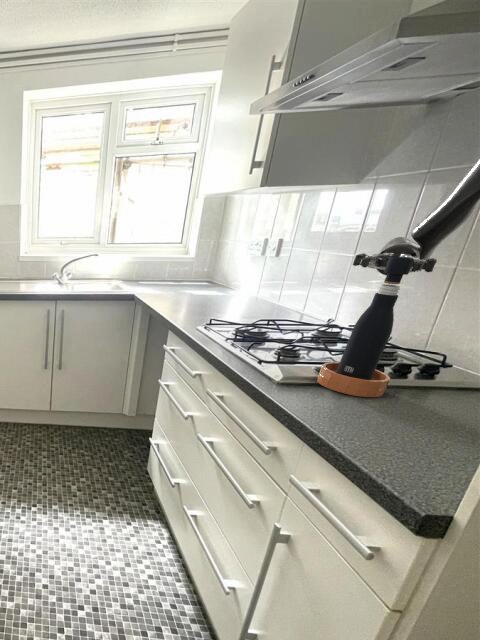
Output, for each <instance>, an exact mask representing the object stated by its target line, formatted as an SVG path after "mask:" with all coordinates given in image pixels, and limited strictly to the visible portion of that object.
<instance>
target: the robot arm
mask: <svg viewBox="0 0 480 640" xmlns="http://www.w3.org/2000/svg"><path fill="white" fill-rule="evenodd" d="M479 203H480V157H479V158H478V159H477V161H476V162H475V163H474V165H472V167H471V168H470V169H469V170H468V171H467V173H466V174H465V175H464V176H463V178H461V180H460V181H459V182H458V183H457V184H456V186H455V187H454V188H453V189H452V190H451V191H450V193H449V194H448V195H447V196H446V197H445V198H444V199H443V200H442V201H441V202H440V203H439V204H438V205H437V206H436V207H435V208H434V209H433V210H432V211H430V212H429V213H428V214H427V215H426V216H425V217H424V218H423V219H421V221H420V222H418V223H417V224H416V225H415V226H414V227H413V228H412V230H411V232H410V236H411V238H412V239H410V238H407V237H404V236H398V237H394V238H392V239H390V240H389V241H388V242H386V243H385V244H384V245H382V247H381V248H380V250H379V252H378V253H373V254H372V255H369V254H367V253H359V254H355V256H354V258H353V262H352V264H351V265H352V266H353V267H357V266H361V267H362V268H364V269H365V268H366V269H367V268H368V269H374V270H376V271H377V272H378V273H380V274H381V275H383V276H387V273H384V270H385V268H386V265H387V263H388V260H389V258H390V257H406V258H414V262H413V264H412V266H411V269H410V271H409V273H416V272H422V270H424V272H426V273H433V271H434V269H435V266H436V264H437V262H438V260H437V258H435V257H434V258H431V257H432V256H433V254H434V253H435V251H436V249H437V248H438V247H440V245H441V244H442V243H443V242H444V241H445V240H446V239H447V238H449V237H450V236H451V235H452V234H454V232H455V231H457V230H458V229H460V227H462V226H463V225H464V224H465V223H466V222H468V220H469V219H470V218H471V217H472V215H473V214H474V212H475V210H476V209H477V207H478V205H479ZM409 273H408V274H409Z"/></svg>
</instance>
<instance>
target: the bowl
mask: <svg viewBox="0 0 480 640" xmlns="http://www.w3.org/2000/svg"><path fill="white" fill-rule="evenodd" d="M339 363H340V361H330V362H324V363H322V364H321V366H320V367H321V368H320V371H319V373H318V376H317V378H316V381H317V383H318V384H319V385H320V386H322V387H324V388H327V389H329V390H331V391H333V392H337V393H341V394H345V395H349V396H353V397H362V398H380V397H382V396H383V395H384V394H385V392H386V390H387V388H388V385H389V382H390V381H391V377H390V375H388V374H387V373H385V372H383V371H380V370H378V369H375V371H374V373H373V376H372V378H371V380H364V379H358V378H352V377H348V376H344V375H341V374H338V373H336V371H337V368H338V366H339Z"/></svg>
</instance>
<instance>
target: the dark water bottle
mask: <svg viewBox="0 0 480 640" xmlns="http://www.w3.org/2000/svg"><path fill="white" fill-rule="evenodd" d="M413 262H414V258H406V257H390V258H389V260H388V263H387V265H386V268H385V270H384V273H387V275H385V278H384V280H383V284H380V286H379V289H377V292H375V293H374V296H373V299H372V301H371V303H370V305H369V306H368V307H367V308H366V310H364V311H363V313H361V314H360V317H359V318H358V319H357V321H356V322H355V324H354V325H353V328H352V331H351V333H350V335H349V337H348V340H347V344H346V345H345V347H344V348H345V349H344V351H343V353H342V356H341V358H340V361H339V362H340V363H339V366H338V368H337V371H336V373H338V374H341V375H344V376H348V377H352V378H358V379H364V380H371V378H372V376H373V373H374V371H375V370H377V367H378V364H379V362H380V360H381V357H382V355H383V353H384V351H385V348H386V346H387V343H388V341H389V339H390V336H391V334H392V332H393V327H394V321H395V317H394V316H395V315H394V313H395V312H394V309H395V308H394V307H395V305H396V303H397V300H398V298H399V294H398V293H400V292H399V291H400V290H401V288H400V287H401V286H400V284H401V281H402V279H403V276H406V275H409V271H410V269H411V266H412V264H413Z"/></svg>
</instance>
